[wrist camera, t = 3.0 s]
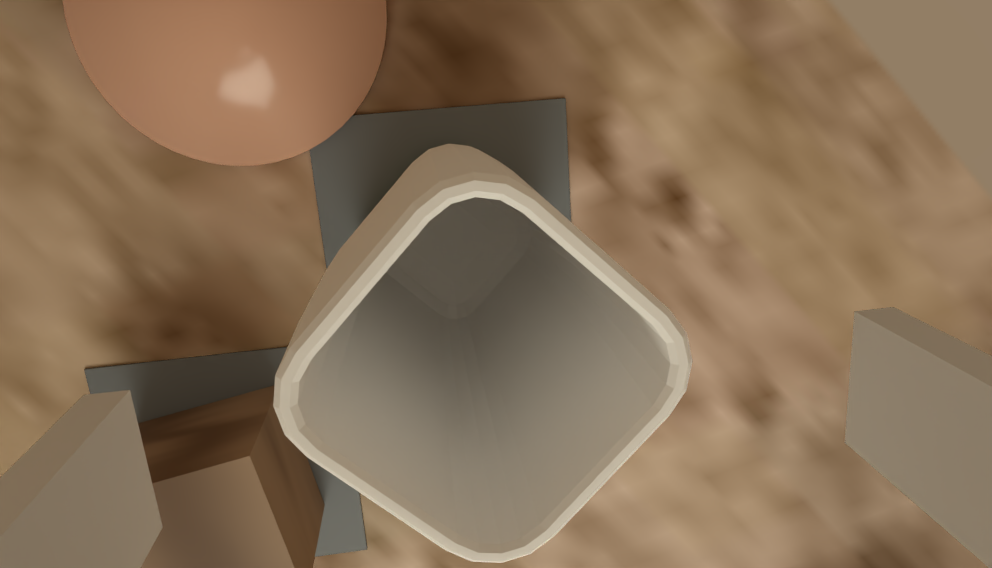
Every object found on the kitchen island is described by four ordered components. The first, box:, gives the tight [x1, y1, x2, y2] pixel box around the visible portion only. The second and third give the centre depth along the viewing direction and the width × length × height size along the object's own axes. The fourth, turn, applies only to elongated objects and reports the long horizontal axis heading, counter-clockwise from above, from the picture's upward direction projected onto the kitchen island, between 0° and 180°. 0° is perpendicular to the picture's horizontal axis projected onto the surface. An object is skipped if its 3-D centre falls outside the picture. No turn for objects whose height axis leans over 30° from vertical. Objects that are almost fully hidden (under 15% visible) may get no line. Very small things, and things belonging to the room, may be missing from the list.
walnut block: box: [138, 385, 325, 568], centre depth 28 cm, size 6×6×6 cm
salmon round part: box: [63, 0, 387, 166], centre depth 26 cm, size 11×11×1 cm
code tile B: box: [84, 347, 367, 556], centre depth 31 cm, size 10×10×1 cm
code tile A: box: [310, 98, 571, 268], centre depth 30 cm, size 10×10×1 cm
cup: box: [273, 144, 692, 563], centre depth 22 cm, size 7×7×15 cm
